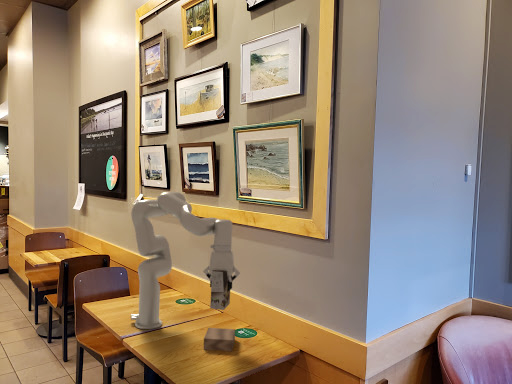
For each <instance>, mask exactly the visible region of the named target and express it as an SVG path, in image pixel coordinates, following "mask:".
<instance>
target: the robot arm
mask: <svg viewBox="0 0 512 384" xmlns="http://www.w3.org/2000/svg"><path fill="white" fill-rule="evenodd" d="M192 211H193V207H192V205H191V203H189V202H187V201H186V198H185V195H184V194H182V193H181V192H180V191H179V192H178V191H165V192H162V193H160V194H159V195H158V196H157V198H155V199H142V200H139V201H136V202H135V204H134V205H133V206H132V208H131V213H130V215H131V221H132V224H133V227H134V232H135V240H136V244H137V251H138V253H139V255H140V256H141V257H150V256H151V257H152V256H154V257H152V258H148V259H145V260H143V261H141V262H140V263H139V265H138V266H137V274H138V280H139V292H138V293H139V294H138V295H139V296H138V313H137V314H135V313H131V314H130V320H133V321H134V320H135V321H134V326H135V328H137V329H141V330H151V329H152V330H154V329H157V328H159V327H161V326H162V325H163V321H162V320H161V319H160V301H161V299H160V298H161V285H160V283H159V281H158V278H160V277H163V276H167V275H168V274H170V273H171V271H172V268H173V262H172V255H171V250H170V245H169V244H170V243H169V241H168V239H167V238H166V237H165V236H164V235H162V234H155V230H154V226H153V224H152V222H151V221H150V219H149V218H156V217H157V218H158V217H164V216H167V215H169V214H170V215H171V216H173V217H174V218H176V219H177V220H179V223H180V224H181V226H182V227H183V229H185V230H187V231H188V232H189V233H191V234H193V235H195V236H197V237H205V236H212V235H214V237H213V244H211V245H210V249H213V250H212V251H211V252H210V259H209V265H208V266H207V267H205V268H204V269H203V273H204V274H205V276H206V277H207V278H208V279H209V281H210V282H209V288H211V282H212V271H213V270H216V271H217V270H220V271H227V276H228V279H229V282H228V291H230V292H231V290H232V289H233V281H234V280H235V279H236V278H237V277H238V276H239V275H240V274H241V273H240V272H241V271H239V270H238V269H237V268H236V267H235V265H234V264H235V262H234V261H235V259H234V253H233V251H232V243H233V242H232V240H233V221H232V220H230V219H222V218H221V219H220V218H217V217H203V218H200V217H199V216H196V215H194V213H192ZM234 273H235V274H234ZM233 274H234V275H233Z"/></svg>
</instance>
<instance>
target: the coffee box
mask: <svg viewBox="0 0 512 384" xmlns="http://www.w3.org/2000/svg"><path fill="white" fill-rule="evenodd" d="M228 282H229V279H228V276H227V271H220V270H217V271H216V270H213V271H212V282H211V287H210V306H209V308H210V309H211V310H212V309H213V310H219V311H224V310H225V309H226V308H228V306H229V305H230V304H231V303H230V302H231V301H230V300H231V290H230V291H228Z"/></svg>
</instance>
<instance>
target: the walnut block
mask: <svg viewBox="0 0 512 384" xmlns="http://www.w3.org/2000/svg"><path fill="white" fill-rule="evenodd" d="M235 339H236V328H233V329H232V328H221V327H220V328H219V327H217V328H216V327H207V330H206V332H205V335H204V337H203V350H204V351H218V350H221V351H220V352H222V351H223V352H233V350H234V344H235Z"/></svg>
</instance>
